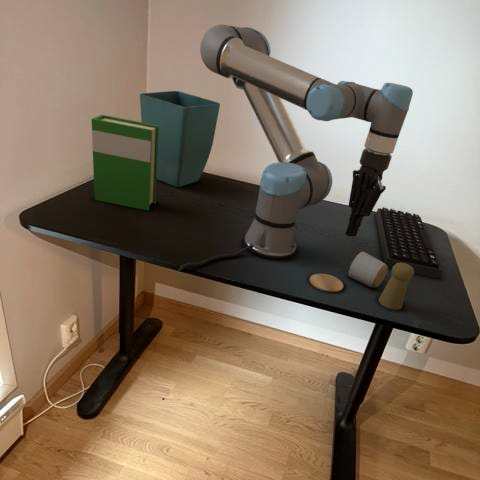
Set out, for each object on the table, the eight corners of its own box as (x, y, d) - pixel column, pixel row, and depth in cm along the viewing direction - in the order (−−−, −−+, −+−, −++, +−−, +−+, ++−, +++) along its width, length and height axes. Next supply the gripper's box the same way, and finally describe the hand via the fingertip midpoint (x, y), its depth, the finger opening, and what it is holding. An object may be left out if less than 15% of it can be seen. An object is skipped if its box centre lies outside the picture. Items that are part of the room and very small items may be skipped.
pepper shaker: (403, 302, 117) (419, 264, 111) (400, 312, 113) (416, 274, 106) (380, 294, 119) (394, 257, 113) (376, 304, 114) (391, 266, 108)
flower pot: (178, 193, 158) (185, 106, 142) (136, 177, 166) (138, 92, 150) (212, 183, 173) (221, 103, 157) (172, 168, 180) (177, 90, 164)
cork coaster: (319, 293, 115) (319, 291, 114) (304, 275, 121) (304, 274, 121) (349, 291, 118) (349, 290, 117) (332, 274, 124) (333, 272, 124)
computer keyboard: (438, 278, 132) (443, 267, 130) (384, 266, 133) (389, 255, 131) (417, 223, 169) (421, 213, 167) (375, 214, 170) (379, 205, 168)
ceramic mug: (372, 293, 119) (381, 267, 114) (345, 280, 122) (353, 254, 118) (388, 281, 126) (397, 256, 122) (362, 269, 130) (370, 245, 126)
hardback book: (155, 202, 148) (158, 125, 134) (148, 210, 142) (151, 130, 128) (103, 192, 149) (102, 114, 135) (94, 199, 143) (91, 118, 129)
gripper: (404, 160, 112) (373, 245, 126) (376, 144, 122) (350, 225, 136) (379, 158, 110) (350, 245, 123) (352, 142, 120) (328, 225, 133)
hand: (350, 234), depth 129 cm, fingers closed
